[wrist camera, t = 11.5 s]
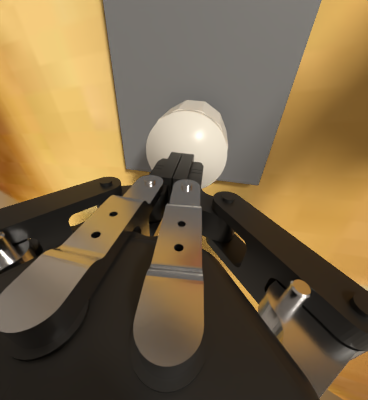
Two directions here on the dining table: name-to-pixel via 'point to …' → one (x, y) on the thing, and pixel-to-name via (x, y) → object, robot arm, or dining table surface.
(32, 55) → the dining table surface
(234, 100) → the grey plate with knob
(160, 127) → the white domed knob
